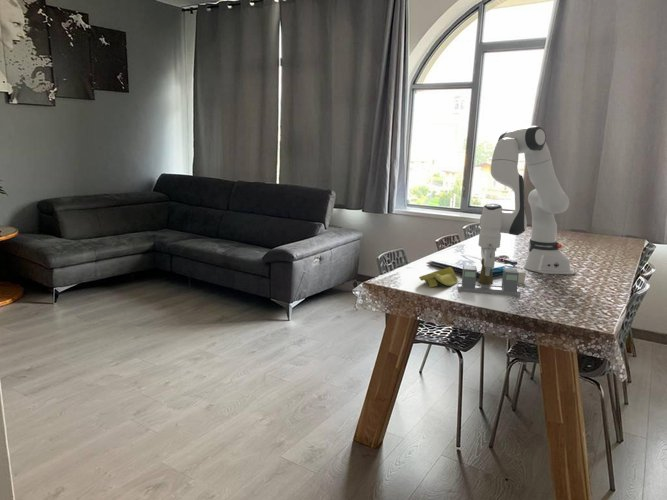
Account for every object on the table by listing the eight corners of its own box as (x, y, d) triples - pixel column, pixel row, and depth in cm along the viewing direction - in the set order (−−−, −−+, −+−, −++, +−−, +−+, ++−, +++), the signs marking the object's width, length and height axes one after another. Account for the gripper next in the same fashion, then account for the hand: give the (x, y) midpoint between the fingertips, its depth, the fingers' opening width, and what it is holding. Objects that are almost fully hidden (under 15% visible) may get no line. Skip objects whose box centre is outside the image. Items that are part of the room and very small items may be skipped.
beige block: (519, 280, 219) (520, 269, 218) (524, 283, 214) (525, 272, 213) (510, 280, 219) (511, 269, 218) (515, 283, 214) (516, 272, 213)
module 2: (514, 287, 202) (516, 268, 200) (516, 292, 195) (518, 273, 193) (501, 286, 203) (503, 267, 201) (503, 291, 196) (505, 272, 194)
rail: (517, 291, 202) (518, 286, 202) (520, 296, 195) (520, 291, 195) (457, 286, 207) (458, 282, 207) (458, 291, 200) (458, 286, 200)
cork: (492, 281, 215) (495, 257, 213) (492, 285, 210) (495, 260, 207) (478, 280, 217) (480, 256, 215) (477, 283, 212) (480, 258, 209)
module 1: (474, 284, 205) (475, 265, 204) (475, 289, 198) (476, 270, 197) (461, 283, 206) (463, 264, 205) (462, 288, 199) (464, 269, 198)
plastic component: (433, 272, 220) (453, 265, 215) (438, 287, 220) (459, 281, 214) (415, 278, 204) (436, 271, 198) (420, 295, 203) (442, 289, 198)
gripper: (499, 247, 199) (496, 280, 202) (494, 238, 219) (491, 268, 222) (483, 246, 200) (480, 279, 203) (480, 237, 220) (477, 267, 223)
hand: (486, 273), depth 213 cm, fingers open, 5 cm apart
